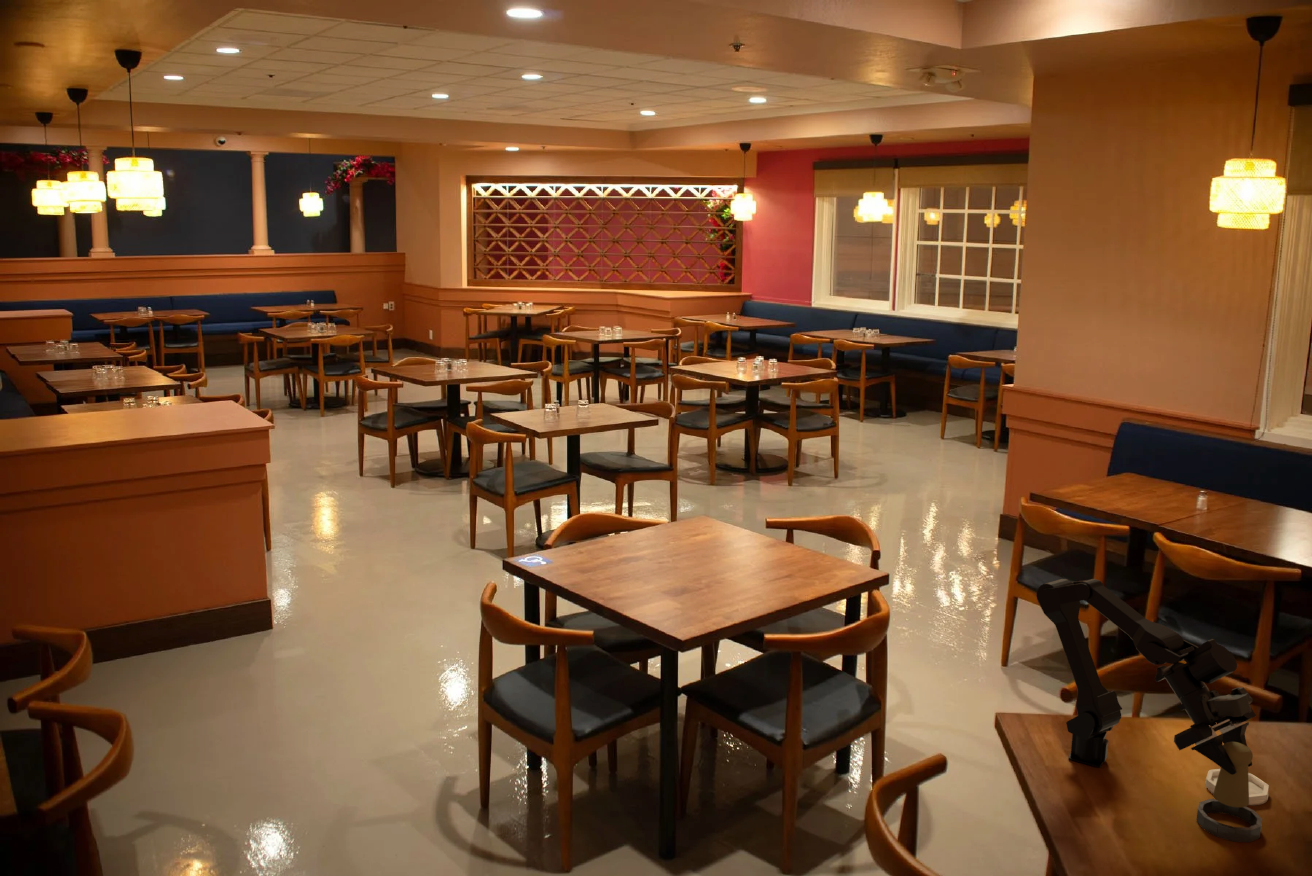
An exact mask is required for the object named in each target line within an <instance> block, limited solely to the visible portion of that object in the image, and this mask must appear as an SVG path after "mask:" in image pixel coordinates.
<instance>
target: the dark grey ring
mask: <svg viewBox="0 0 1312 876" xmlns="http://www.w3.org/2000/svg"><path fill="white" fill-rule="evenodd" d="M1208 813H1209V814H1225V815H1229V816H1233V817H1237V818H1239V819H1240V820H1243V821H1245V822H1246V823H1248V824H1249V825H1250V826H1248V827H1243V826H1232V825H1228V824H1226V823H1225V824H1224V823H1221V822H1219V821H1217V820H1215V819H1214V818H1211V817H1210V816H1208V815H1209V814H1208ZM1196 820H1197V821H1196ZM1196 820H1195V821H1196V822H1197V824H1198V823H1199V824H1200V825H1201V826H1202V827H1201V826H1200V825H1199V824H1198V825H1199V826H1200V827H1201V829H1202V828H1203V829H1202V830H1204V829H1205V830H1206V831H1205V830H1204V831H1205V832H1207V831H1208V833H1209V832H1210V833H1209V834H1210V835H1212V836H1215V837H1216V838H1220V839H1222V840H1227V841H1230V842H1235V843H1236V842H1237V843H1251V842H1254V841H1256V840H1260V839H1261V831H1262V825H1263V824H1262V823H1263V818H1262V817H1261V816H1260V815H1259V814H1258V812H1256V811H1255V809H1252V808H1250V807H1248V806H1246V807H1232V806H1228V805H1225V804H1223V803H1221V802H1219V801H1217V800H1216V799H1215V798H1208V799H1205V800H1203V801H1200V802H1199V803H1198V806H1197V813H1196Z"/></svg>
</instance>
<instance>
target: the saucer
mask: <svg viewBox="0 0 1312 876" xmlns="http://www.w3.org/2000/svg"><path fill="white" fill-rule="evenodd" d="M1220 769H1221V768H1216V769H1215V768H1214V769H1209V770H1208V771H1207V775H1206V777H1205V787H1206V789H1207V788H1208V789H1207V790H1208V791H1209V792H1210V793H1211V792H1212V793H1211V794H1213V792H1214V789H1215V786H1216V782H1217V779H1218V776H1219V772H1220ZM1248 780H1249V804H1248V806H1260V805H1263V804H1265V803H1267V802H1268V800H1269V789H1270V788H1269V787H1270V785H1269V784H1268V783H1266V782H1265V781H1263V780H1262V779H1260V778H1259V777H1257V776H1256V775H1254V774H1252V773H1250V772H1248Z"/></svg>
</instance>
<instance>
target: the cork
mask: <svg viewBox="0 0 1312 876" xmlns="http://www.w3.org/2000/svg"><path fill="white" fill-rule="evenodd" d="M1222 745H1223V747H1224V749H1225V750H1226V752H1227V754H1228V756H1229V758H1230V759H1231V761H1232V763H1233V765H1234V767H1235V769H1236V771H1237V773H1235V774H1233V775H1231V774H1230V773H1228V772H1227V771H1226V770H1224V769H1223V768H1221V767H1220V768H1219V769H1220V772H1219V776H1218V779H1217V782H1216V786H1215V789H1214V792H1213V793H1212V796H1213V799H1216V800H1217V801H1219V802H1221V803H1223V804H1225V805H1228V806H1232V807H1248V806H1249V805H1248V804H1249V780H1248V773H1249V767H1248V765H1249V764H1250V763H1251V761H1252V760H1253V756H1254V754H1253V751H1252V749H1251V748H1250V747H1249V746H1248V745H1247V746H1246V745H1244V744H1242V743H1238V742H1227V743H1225V744H1224V743H1223V744H1222Z"/></svg>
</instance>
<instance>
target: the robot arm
mask: <svg viewBox="0 0 1312 876" xmlns="http://www.w3.org/2000/svg"><path fill="white" fill-rule="evenodd" d="M1035 593H1036V594H1035V596H1036V597H1035V598H1036V600H1037V602H1038V604H1039V607H1040V608H1041V611H1042V612H1043V615H1045V616H1046V617H1047V618H1048V619H1049V620H1050V621H1051V622H1052V623H1053V625H1054V626H1055V628H1056V632H1057V634H1058V637H1059V640H1060V643H1061V646H1062V649H1063V652H1064V654H1065V657H1066V660H1067V663H1068V666H1069V669H1070V671H1071V675H1072V678H1073V681H1074V682H1075V687H1076V690H1077V695H1076V701H1075V708H1076V713H1077V715H1076V716H1075V717H1072V718H1071V719H1069V720H1068V721H1066V722H1065V723H1066V724H1065V725H1066V728H1067V731H1068V733H1070V734H1072V736H1071V746H1070V747H1071V749H1070V752H1069V753H1070V754H1069V755H1068V760H1070V761H1074V762H1077V763H1080V764H1085V765H1088V766H1092V767H1095V768H1101V767H1102V765H1103V763H1105V762H1106V760H1107V758H1108V752H1109V751H1108V750H1109V741H1110V740H1109V739H1107V734H1108V733H1107V732H1111V731H1113V728H1114V727H1115V726H1117V725H1118V724H1120V720H1121V719H1122V713H1121V711H1122V710H1123V707H1122V706H1121V705H1120V703H1119V700H1118V696H1117V692H1116V691H1115V690H1112V691H1109V690H1107V689H1106V687H1105V686H1103V683H1102V682H1101V680H1100V676H1099V673H1098V670H1097V668H1096V665H1095V662H1094V659H1093V656H1092V653H1091V651H1090V648H1089V645H1088V643H1087V640H1086V639H1087V638H1086V636H1085V634H1084V630H1083V628H1082V626H1081V623H1080V619H1079V615H1080V608H1081V602H1080V601H1084V602H1086V603H1087V604H1088V605H1090V606H1091V607H1092V608H1094V609H1095V610H1096V611H1097V612H1099V613H1100V614H1101V615H1102V616H1103V617H1105V618H1106V619H1108V621H1110V622H1111V623H1112V624H1114V625H1115V626H1116V628H1117V627H1118V628H1119V629H1120V630H1121V631H1122V632H1124V633H1125V634H1126V635H1128V637H1129V638H1130V639H1131V640H1132V642H1133V645H1134V647H1135V648H1136V650H1137V651H1138V652H1139V654H1140V655H1142V656H1143V657H1144V659H1146V661H1148V662H1149V663H1151V664H1152V665H1154V666H1157V665H1158V667H1156V674H1155V676H1154V681H1155V682H1156V683H1157V682H1161V681H1162V680H1166V682H1167V684H1168V685H1169V687H1170V688H1171V689H1172V691H1173V692H1174V694H1175V696H1176V698H1177V699H1178V701H1179V702H1180V704H1178V705H1177V708H1178V709H1179V711H1180V712H1181V711H1185V712H1186V713H1187V715H1188V717H1189V719H1190V720H1191V721H1192V723H1193V724H1191V725H1189V728H1186V729H1185V730H1183V731H1180V732H1179V733H1176V734H1174V736H1173V743H1174V744H1175V746H1176V747H1177V749H1178V751H1182V750H1184V749H1187V748H1189V747H1191V746H1193V745H1195V746H1193V747H1191V748H1190V749H1191V750H1192V751H1196V752H1197V753H1199V754H1201V755H1202V756H1204V757H1206V758H1207V759H1208V760H1210V761H1212V762H1213V763H1215V764H1216V765H1217V766H1218V767H1220V769H1221V768H1223V769H1224V770H1226V771H1227V772H1228V773H1230V774H1231V775H1233V774H1235V773H1237V771H1236V769H1235V767H1234V765H1233V763H1232V761H1231V759H1230V758H1229V756H1228V754H1227V752H1226V750H1225V749H1224V747H1223V745H1224V744H1225V743H1227V742H1238V743H1242V744H1244V745H1246V746H1248V744H1247V743H1248V742H1247V739H1246V734H1245V733H1246V730H1247V727H1248V726H1249V725H1250V722H1249V721H1248V720H1250V719H1253V718H1255V717H1257V715H1256V712H1255V711H1254V710H1253V709H1252V707H1251V705H1250V704H1251V703H1253V701H1254V698H1253V697H1251V695H1250V693H1249V692H1248V691H1247V690H1246V689H1245V687H1236V688H1233V689H1231V692H1230V694H1227V695H1220V694H1219V691H1217V690H1215V689H1214V688H1213V689H1209V687H1208V686H1207V685H1208V684H1213V683H1214V682H1217V681H1218V680H1220V679H1222V678H1224V677H1227V676H1228V675H1230V674H1233V673H1234V672H1235V671H1236V670H1237V667H1238V662H1237V660H1236V658H1235V655H1234V654H1233V653H1232V651H1229V649H1228V648H1226V647H1225V646H1223V645H1221V644H1219V643H1218V642H1217V641H1216V639H1214V638H1211V639H1209V640H1207V641H1204V642H1203V643H1202V644H1201V645H1199V646H1197V645H1196V644H1194V643H1192V642H1190V641H1187V640H1185V639H1184V638H1183V637H1182V636H1181V634H1179V633H1178V632H1176V631H1175V630H1173V629H1171V628H1169V627H1168V626H1165V625H1163V624H1161V623H1157V622H1155V621H1152V620H1149V619H1148V618H1146V617H1144V616H1143V615H1142V614H1141V613H1139V612H1138V611H1137V610H1135V609H1134V608H1133V607H1131V605H1129V604H1128V603H1127V602H1125V601H1124V600H1123V599H1121V598H1120V597H1119V596H1118V595H1116V594H1115V593H1114V592H1113V591H1111V590H1110V589H1108V588H1107V587H1106V586H1105V585H1104V583H1103V582H1102V581H1101V580H1099V579H1096V578H1091V579H1086V580H1079V581H1077V580H1076V581H1070V580H1069V579H1066V578H1061V579H1060V578H1059V579H1057V580H1053V581H1049V582H1046V583H1042V584H1041V585H1040V586H1039V587H1038V589H1037V591H1036V592H1035ZM1182 661H1185V662H1186V663H1183V662H1182ZM1164 664H1170V665H1169V666H1166V665H1164ZM1244 722H1245V723H1244ZM1216 732H1220V733H1221V734H1219V735H1217V734H1216ZM1249 767H1253V762H1252V761H1251V763H1250V764H1249V765H1248V768H1249Z"/></svg>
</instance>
